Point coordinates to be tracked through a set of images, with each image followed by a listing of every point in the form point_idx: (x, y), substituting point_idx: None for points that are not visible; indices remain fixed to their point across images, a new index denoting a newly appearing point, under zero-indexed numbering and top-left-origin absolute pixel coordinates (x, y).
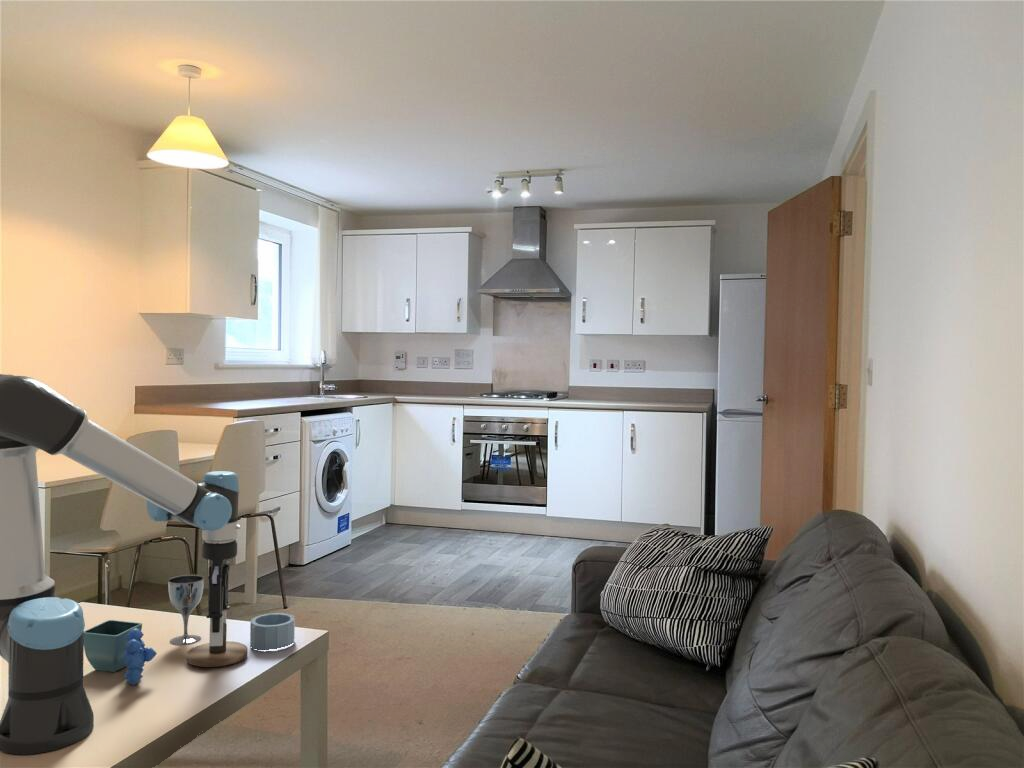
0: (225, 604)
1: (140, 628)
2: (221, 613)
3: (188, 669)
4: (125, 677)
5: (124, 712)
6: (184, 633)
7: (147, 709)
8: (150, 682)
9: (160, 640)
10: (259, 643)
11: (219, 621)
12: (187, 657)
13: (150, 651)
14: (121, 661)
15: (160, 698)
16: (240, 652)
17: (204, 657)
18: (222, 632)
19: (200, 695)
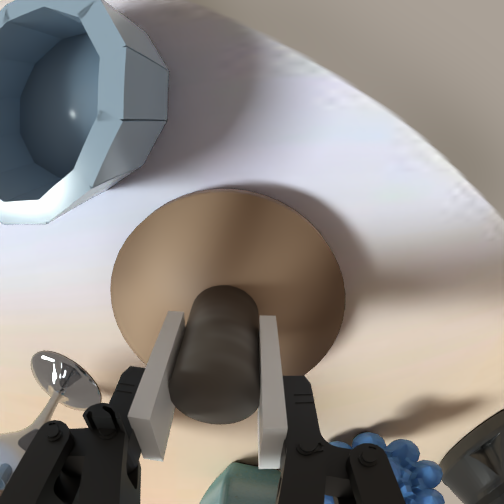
0: (124, 456)
1: None
2: (322, 458)
3: None
4: None
5: (483, 398)
6: (60, 399)
7: (494, 371)
8: (366, 413)
9: (78, 422)
10: (142, 146)
11: (295, 420)
12: None
13: (398, 476)
14: (277, 481)
15: (464, 369)
16: (257, 221)
17: (292, 347)
18: (278, 357)
19: (493, 294)
